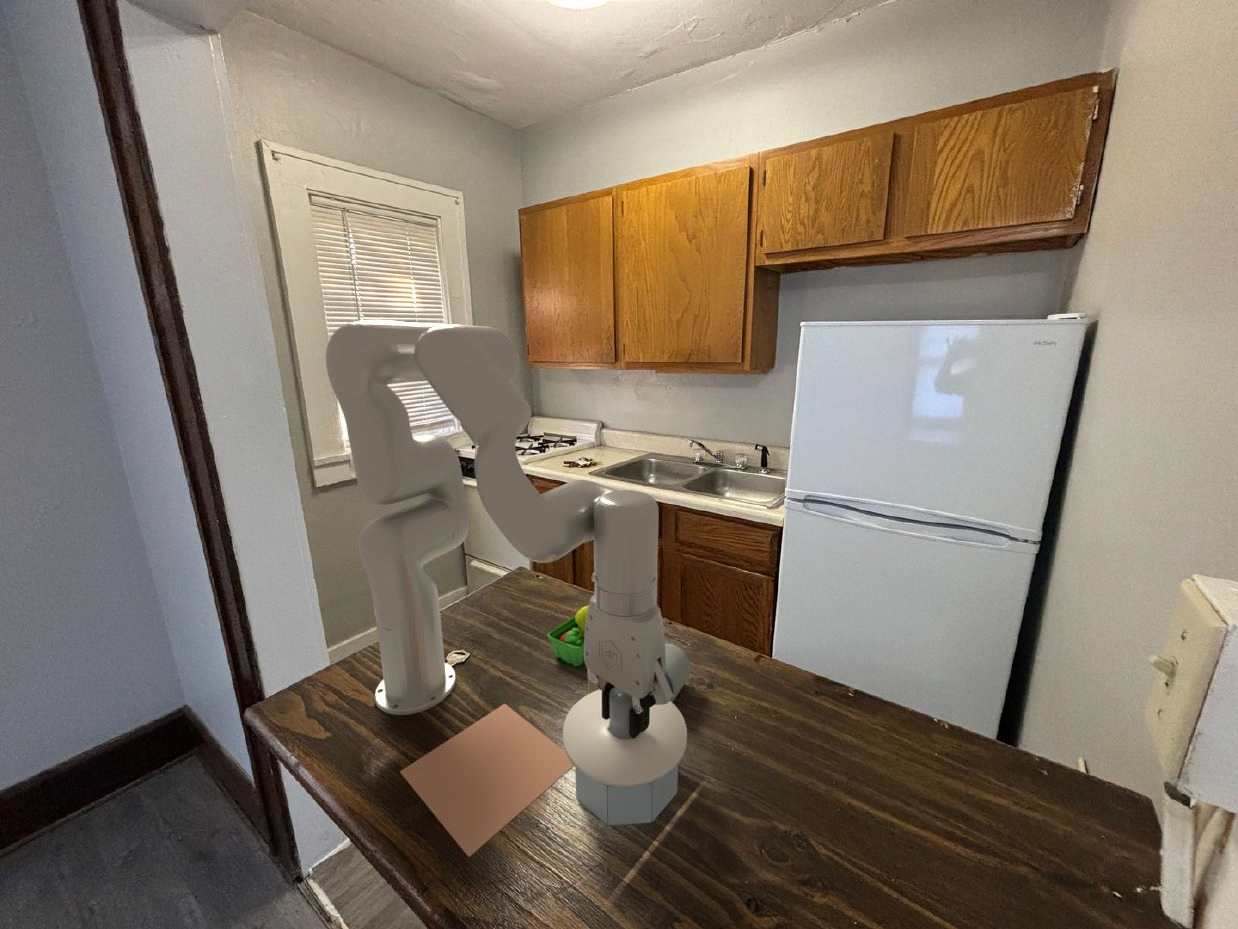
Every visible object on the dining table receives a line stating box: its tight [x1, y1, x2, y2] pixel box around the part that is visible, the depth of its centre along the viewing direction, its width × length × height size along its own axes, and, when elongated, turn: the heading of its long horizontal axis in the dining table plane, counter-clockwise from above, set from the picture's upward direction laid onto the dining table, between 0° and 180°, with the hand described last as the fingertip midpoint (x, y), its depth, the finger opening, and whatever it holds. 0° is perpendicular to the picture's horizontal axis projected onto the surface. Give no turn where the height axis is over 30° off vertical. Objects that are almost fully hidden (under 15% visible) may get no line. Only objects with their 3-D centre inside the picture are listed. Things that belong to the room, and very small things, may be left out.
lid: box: [562, 686, 688, 787], centre depth 61 cm, size 16×16×6 cm
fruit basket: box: [547, 604, 589, 667], centre depth 89 cm, size 11×9×11 cm
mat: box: [399, 703, 575, 858], centre depth 65 cm, size 17×17×1 cm
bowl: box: [574, 764, 679, 826], centre depth 63 cm, size 13×13×6 cm
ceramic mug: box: [652, 642, 692, 703], centre depth 80 cm, size 11×8×8 cm
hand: (625, 721), depth 61 cm, fingers closed on lid, 4 cm apart
